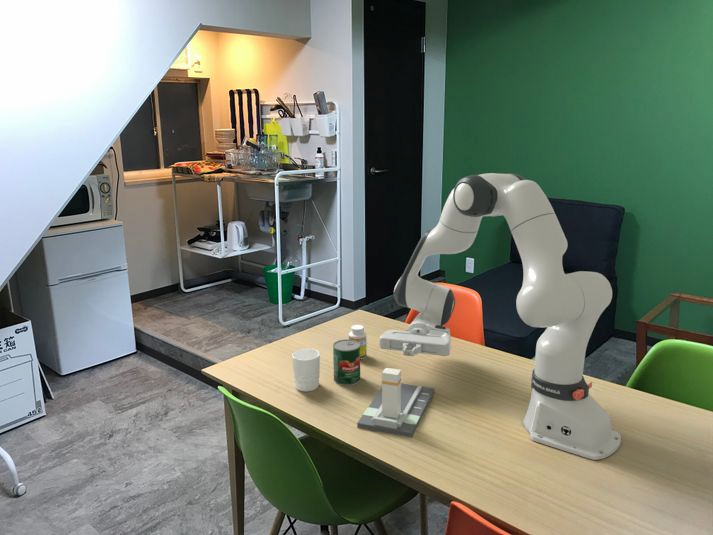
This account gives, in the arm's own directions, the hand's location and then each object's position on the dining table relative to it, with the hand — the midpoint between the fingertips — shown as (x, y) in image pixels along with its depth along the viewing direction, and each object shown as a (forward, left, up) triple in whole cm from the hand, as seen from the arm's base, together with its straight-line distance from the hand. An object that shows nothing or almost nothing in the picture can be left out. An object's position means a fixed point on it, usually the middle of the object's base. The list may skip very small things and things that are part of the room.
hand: (408, 353), depth 156 cm
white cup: (+24, +17, -13) cm, 32 cm away
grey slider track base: (-3, +7, -12) cm, 15 cm away
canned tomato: (+19, +5, -13) cm, 23 cm away
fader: (-6, +13, -11) cm, 18 cm away
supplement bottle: (+28, -7, -13) cm, 31 cm away
